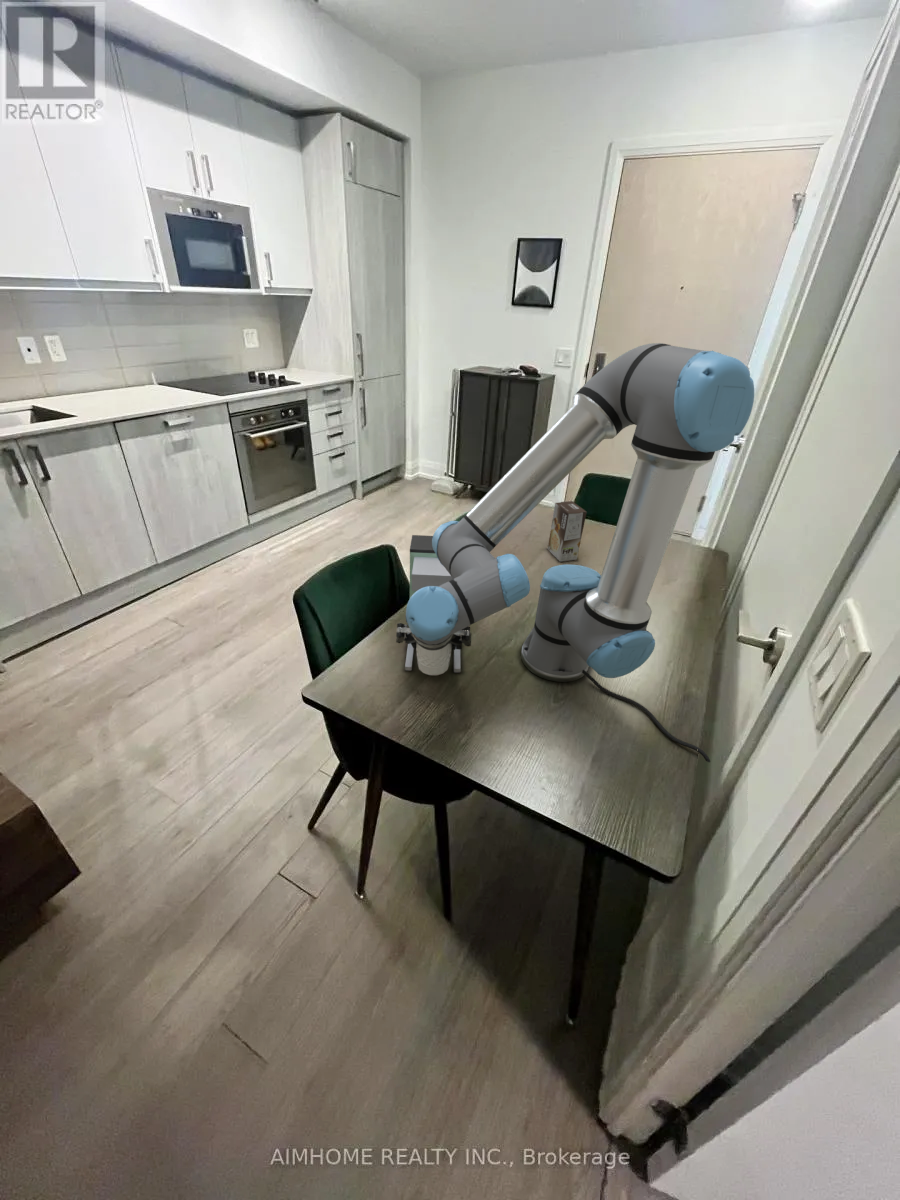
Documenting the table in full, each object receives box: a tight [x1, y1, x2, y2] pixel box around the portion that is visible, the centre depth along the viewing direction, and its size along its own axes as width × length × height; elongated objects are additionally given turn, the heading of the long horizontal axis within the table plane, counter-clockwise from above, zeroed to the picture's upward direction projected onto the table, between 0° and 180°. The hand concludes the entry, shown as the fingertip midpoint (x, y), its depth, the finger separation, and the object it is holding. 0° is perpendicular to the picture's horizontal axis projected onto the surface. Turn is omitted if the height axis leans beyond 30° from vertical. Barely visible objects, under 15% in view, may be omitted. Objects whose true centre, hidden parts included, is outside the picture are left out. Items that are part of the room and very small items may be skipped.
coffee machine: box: [404, 534, 461, 673], centre depth 107 cm, size 20×12×23 cm, turn 0°
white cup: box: [415, 642, 452, 676], centre depth 102 cm, size 8×8×10 cm
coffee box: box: [547, 500, 588, 562], centre depth 150 cm, size 9×6×16 cm
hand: (434, 642), depth 106 cm, fingers closed on white cup, 8 cm apart
